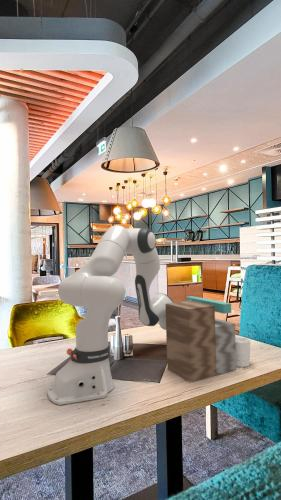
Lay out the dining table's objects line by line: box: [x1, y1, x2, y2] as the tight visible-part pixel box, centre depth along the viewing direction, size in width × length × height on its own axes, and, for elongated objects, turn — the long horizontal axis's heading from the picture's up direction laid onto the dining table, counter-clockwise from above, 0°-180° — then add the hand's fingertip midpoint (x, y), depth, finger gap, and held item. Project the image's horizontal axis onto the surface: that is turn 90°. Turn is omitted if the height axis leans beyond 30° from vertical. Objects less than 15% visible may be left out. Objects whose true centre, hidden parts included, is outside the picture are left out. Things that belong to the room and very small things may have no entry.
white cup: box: [235, 336, 251, 368], centre depth 131 cm, size 8×8×10 cm
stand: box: [165, 300, 237, 383], centre depth 126 cm, size 22×15×26 cm
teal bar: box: [185, 295, 232, 315], centre depth 133 cm, size 4×24×4 cm, turn 29°
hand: (196, 301), depth 139 cm, fingers closed on teal bar, 3 cm apart
